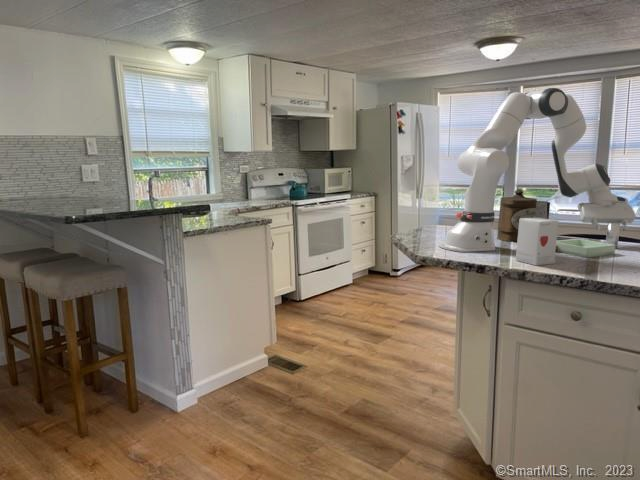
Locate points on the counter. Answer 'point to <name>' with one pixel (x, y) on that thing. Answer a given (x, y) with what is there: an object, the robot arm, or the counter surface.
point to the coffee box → (542, 209)
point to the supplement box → (536, 241)
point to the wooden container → (514, 215)
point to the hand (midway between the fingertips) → (612, 229)
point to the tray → (585, 248)
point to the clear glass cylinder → (613, 233)
